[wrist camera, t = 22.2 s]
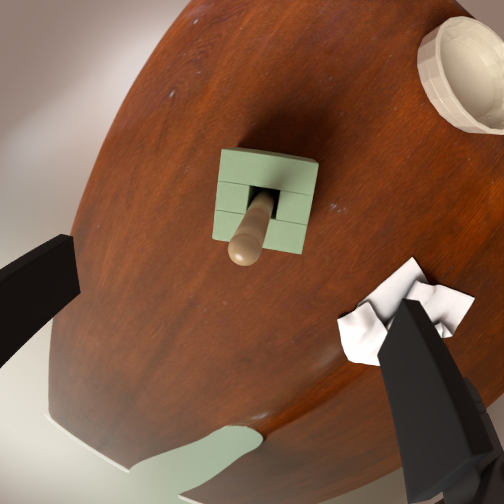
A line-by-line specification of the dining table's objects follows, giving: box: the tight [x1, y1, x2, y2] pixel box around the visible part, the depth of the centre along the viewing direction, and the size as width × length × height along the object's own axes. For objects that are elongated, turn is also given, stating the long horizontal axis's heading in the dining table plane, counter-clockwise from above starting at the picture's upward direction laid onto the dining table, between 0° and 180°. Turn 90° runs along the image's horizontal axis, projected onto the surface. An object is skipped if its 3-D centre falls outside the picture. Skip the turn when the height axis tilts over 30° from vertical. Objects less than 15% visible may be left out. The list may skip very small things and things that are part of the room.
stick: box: [228, 187, 277, 266], centre depth 25 cm, size 2×2×18 cm
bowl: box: [417, 16, 504, 135], centre depth 21 cm, size 14×14×6 cm
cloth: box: [337, 257, 475, 366], centre depth 36 cm, size 20×22×2 cm
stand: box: [212, 147, 319, 254], centre depth 30 cm, size 9×9×7 cm
